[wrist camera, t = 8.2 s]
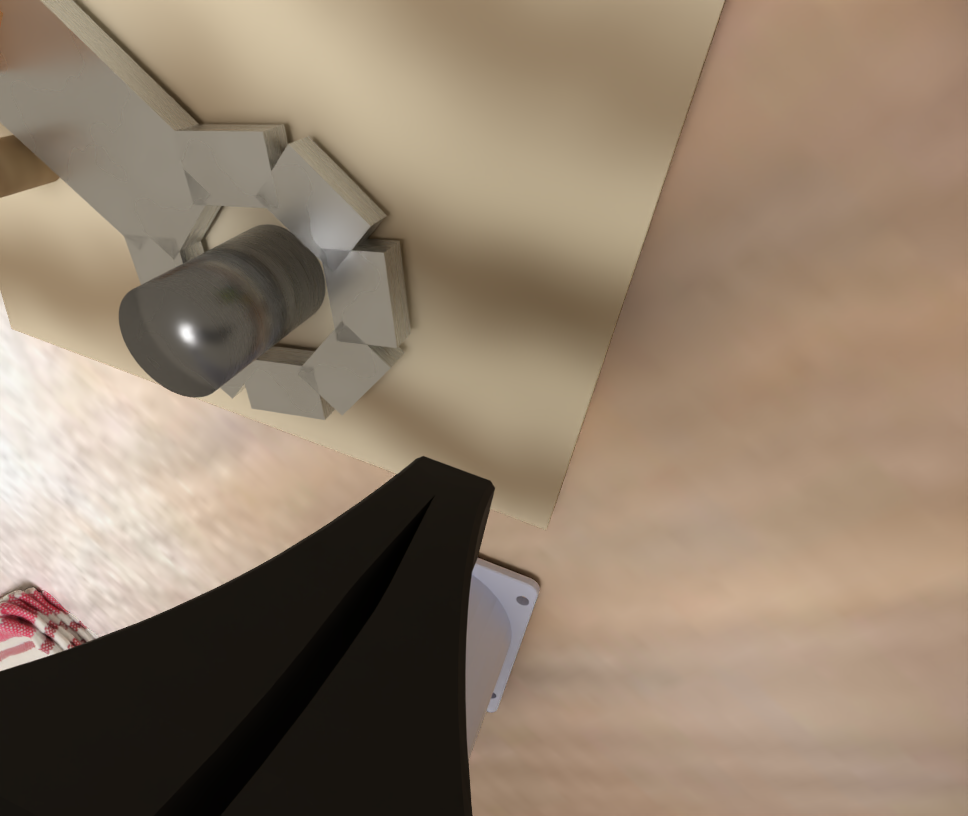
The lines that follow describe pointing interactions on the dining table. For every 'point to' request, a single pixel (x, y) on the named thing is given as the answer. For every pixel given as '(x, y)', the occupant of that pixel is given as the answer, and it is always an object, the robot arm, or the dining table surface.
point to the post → (221, 309)
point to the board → (417, 201)
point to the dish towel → (36, 628)
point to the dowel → (21, 168)
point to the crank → (203, 194)
